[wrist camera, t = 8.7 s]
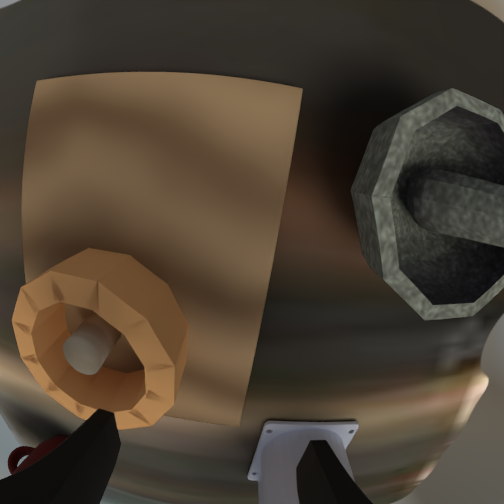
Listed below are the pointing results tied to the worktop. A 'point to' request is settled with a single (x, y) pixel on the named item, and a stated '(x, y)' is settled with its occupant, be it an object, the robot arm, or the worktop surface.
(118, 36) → the worktop surface
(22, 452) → the mug
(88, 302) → the orange notched ring
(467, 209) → the mortar and pestle
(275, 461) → the robot arm
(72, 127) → the shelf plate
